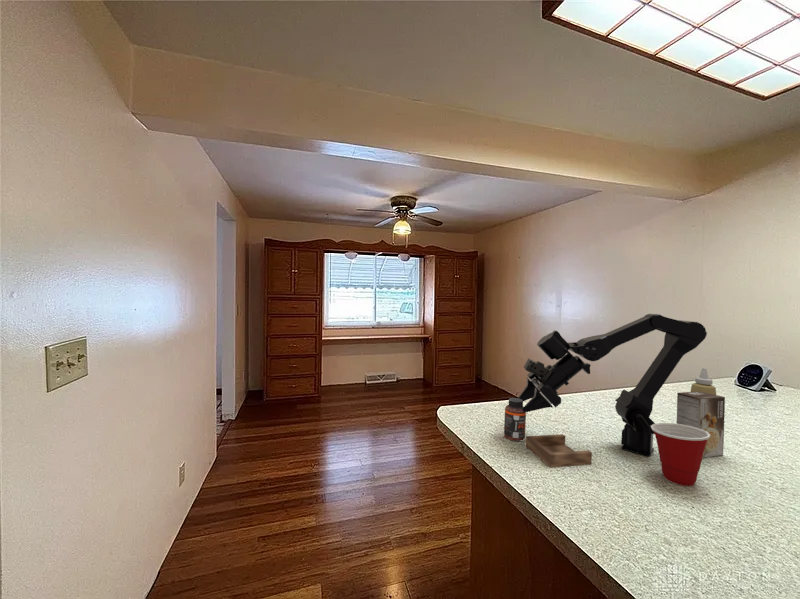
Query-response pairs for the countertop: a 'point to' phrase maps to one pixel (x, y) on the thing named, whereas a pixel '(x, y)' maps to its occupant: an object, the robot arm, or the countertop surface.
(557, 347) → the robot arm
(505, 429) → the supplement bottle
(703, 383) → the squeeze bottle
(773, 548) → the countertop surface
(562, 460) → the tray
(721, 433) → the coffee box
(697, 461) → the plastic cup
